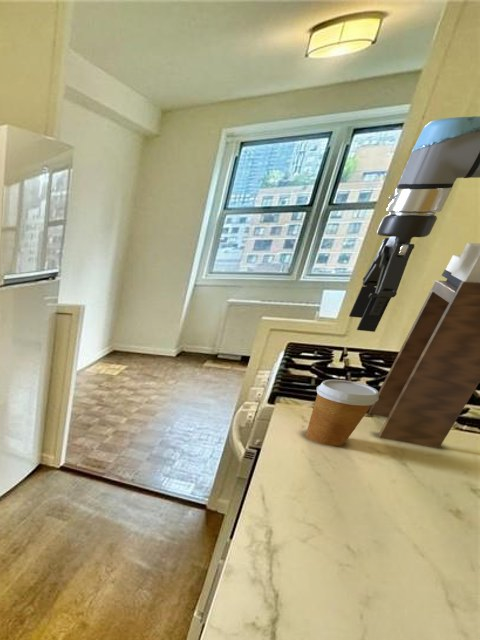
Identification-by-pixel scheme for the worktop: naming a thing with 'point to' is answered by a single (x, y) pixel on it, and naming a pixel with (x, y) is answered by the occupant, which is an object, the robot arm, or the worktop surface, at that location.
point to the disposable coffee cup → (339, 410)
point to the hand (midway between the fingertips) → (360, 323)
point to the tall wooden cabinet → (433, 368)
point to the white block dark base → (464, 266)
